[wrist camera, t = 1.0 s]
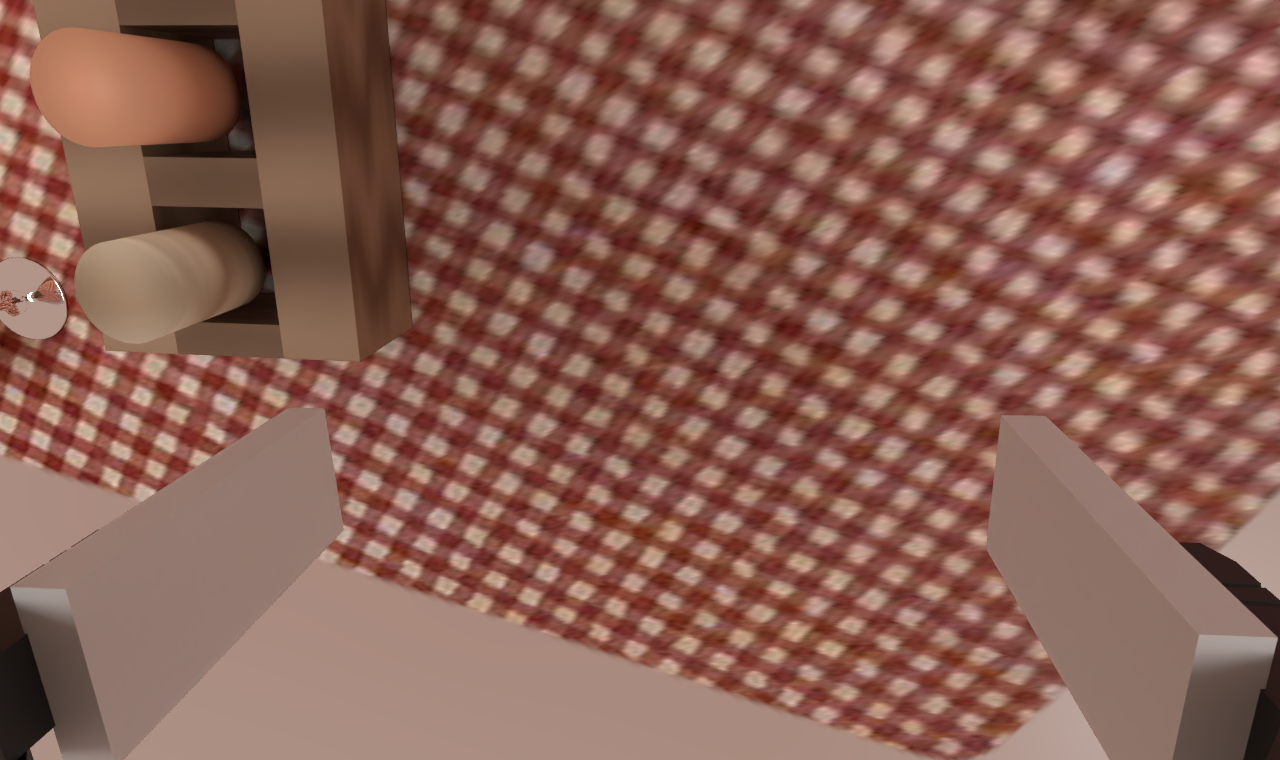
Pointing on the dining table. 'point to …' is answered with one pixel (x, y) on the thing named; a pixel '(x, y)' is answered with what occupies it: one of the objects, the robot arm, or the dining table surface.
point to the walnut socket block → (269, 172)
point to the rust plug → (132, 89)
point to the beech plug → (168, 279)
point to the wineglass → (31, 299)
